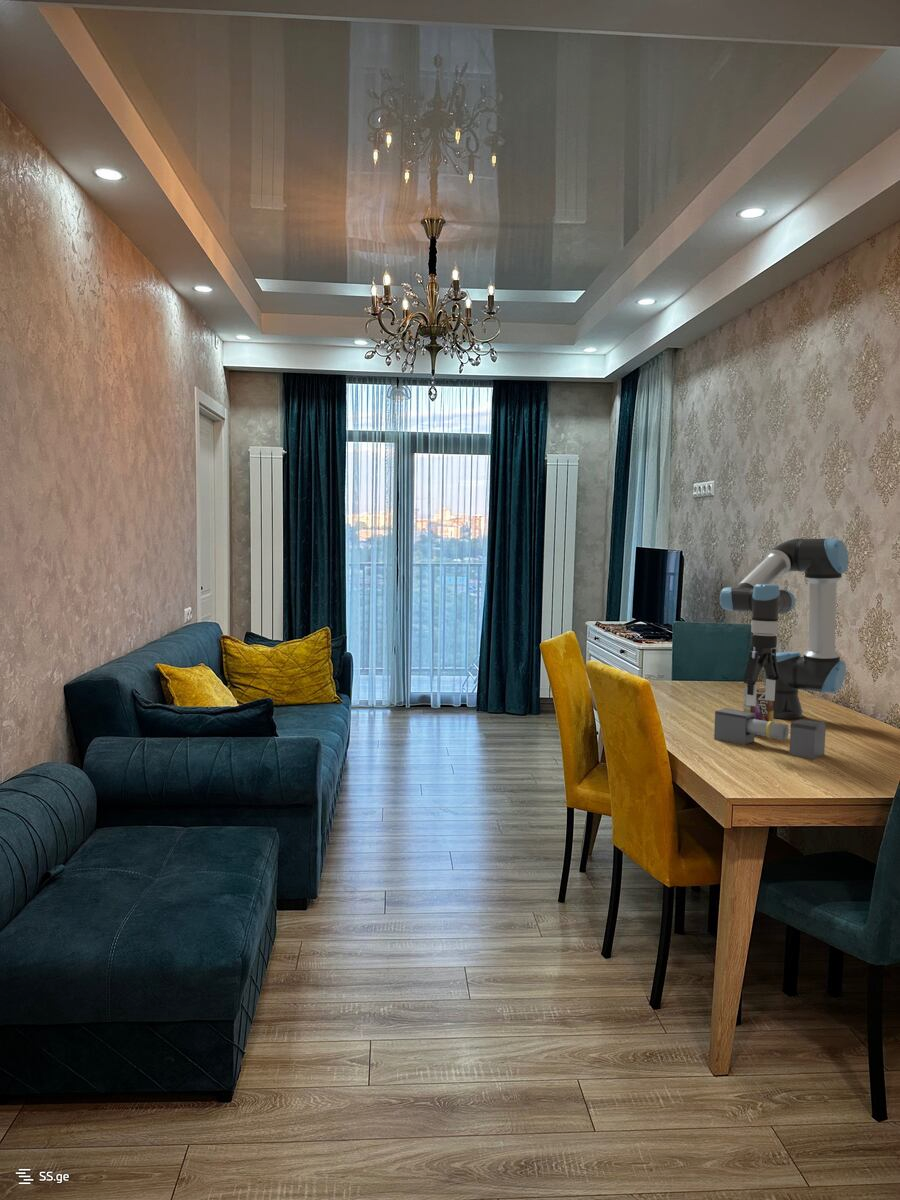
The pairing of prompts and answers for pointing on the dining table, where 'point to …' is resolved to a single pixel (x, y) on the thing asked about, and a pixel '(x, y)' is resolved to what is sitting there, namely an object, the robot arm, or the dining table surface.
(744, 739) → the sleeve
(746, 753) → the dining table surface
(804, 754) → the socket
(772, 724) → the tube
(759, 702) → the candy box
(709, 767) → the dining table surface
